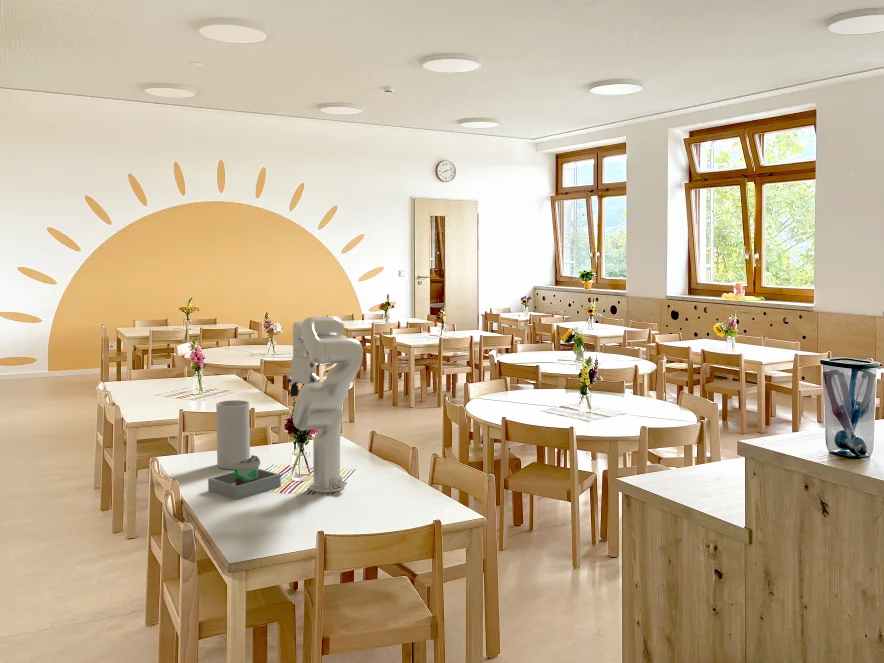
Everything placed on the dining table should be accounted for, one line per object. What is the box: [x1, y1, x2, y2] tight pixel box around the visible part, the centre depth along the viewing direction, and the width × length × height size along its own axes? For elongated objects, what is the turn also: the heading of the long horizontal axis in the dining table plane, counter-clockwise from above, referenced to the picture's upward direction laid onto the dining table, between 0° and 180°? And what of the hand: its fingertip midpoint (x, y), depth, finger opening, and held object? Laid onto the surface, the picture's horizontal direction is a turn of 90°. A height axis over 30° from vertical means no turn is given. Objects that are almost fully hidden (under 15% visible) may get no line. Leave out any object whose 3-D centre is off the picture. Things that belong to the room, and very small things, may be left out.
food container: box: [232, 454, 261, 486], centre depth 281 cm, size 12×6×10 cm, turn 162°
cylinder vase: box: [215, 399, 251, 470], centre depth 311 cm, size 12×12×25 cm
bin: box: [207, 468, 282, 500], centre depth 282 cm, size 16×20×4 cm
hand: (303, 397), depth 305 cm, fingers open, 9 cm apart
